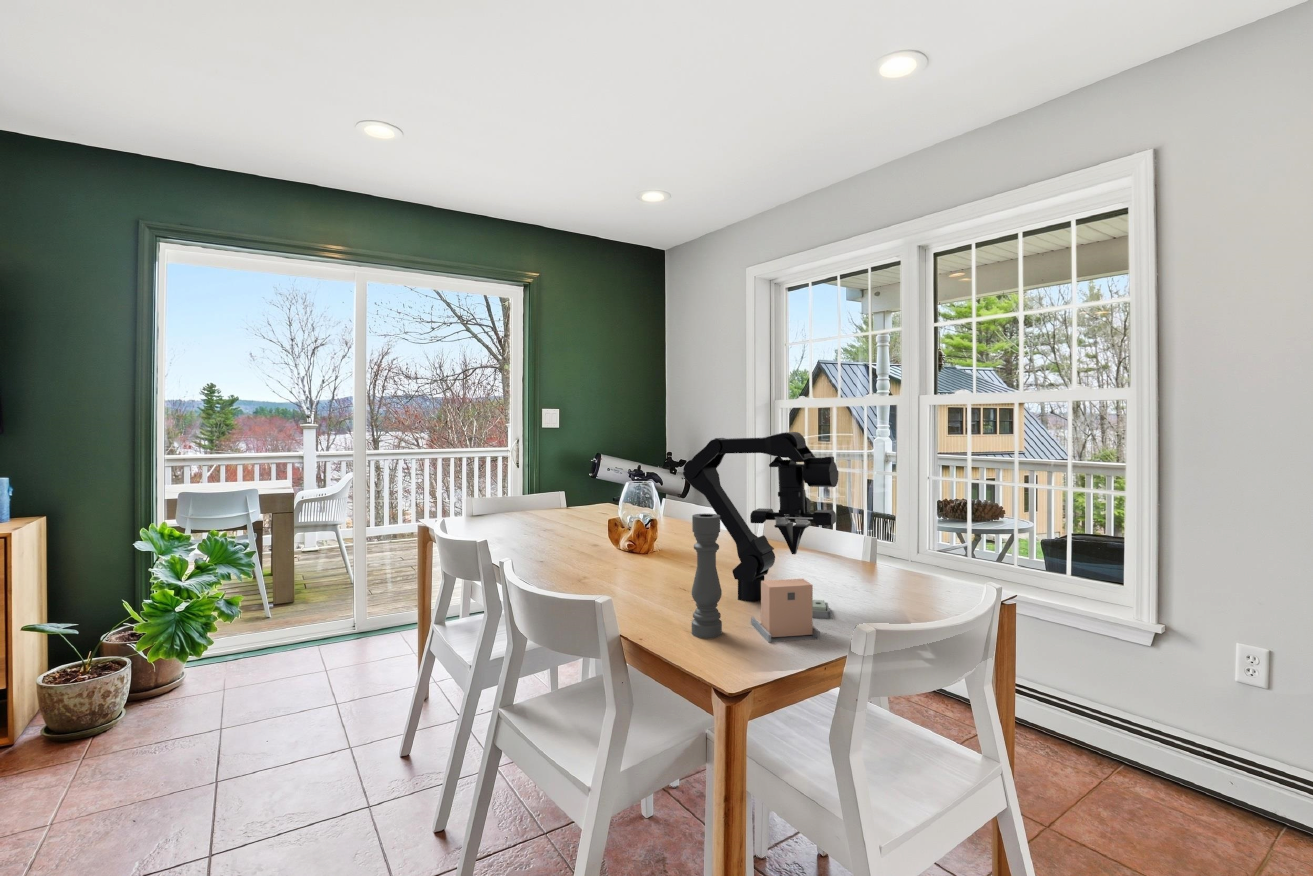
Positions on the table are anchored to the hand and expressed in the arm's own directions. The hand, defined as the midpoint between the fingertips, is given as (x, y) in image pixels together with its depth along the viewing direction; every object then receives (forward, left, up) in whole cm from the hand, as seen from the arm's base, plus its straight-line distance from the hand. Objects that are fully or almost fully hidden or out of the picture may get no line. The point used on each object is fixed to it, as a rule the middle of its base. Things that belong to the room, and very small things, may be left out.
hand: (794, 554), depth 147 cm
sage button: (+4, -5, -13) cm, 14 cm away
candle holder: (-18, -22, -13) cm, 31 cm away
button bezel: (+4, -5, -13) cm, 14 cm away
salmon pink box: (-2, -19, -12) cm, 23 cm away
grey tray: (-2, -18, -13) cm, 22 cm away
